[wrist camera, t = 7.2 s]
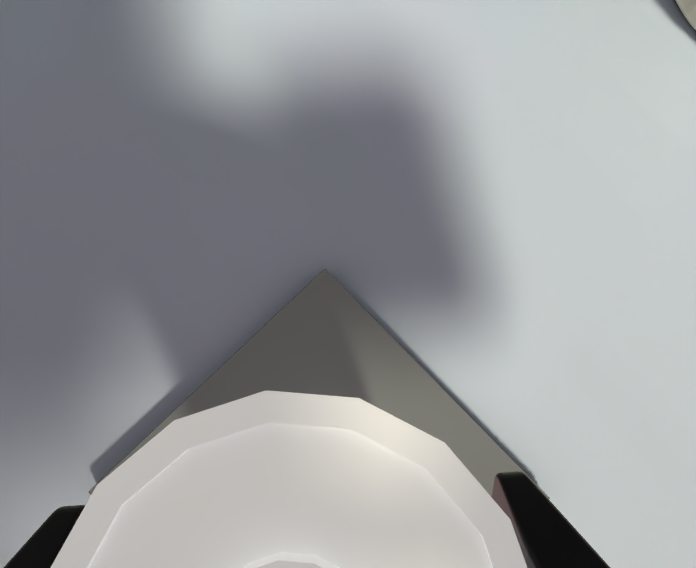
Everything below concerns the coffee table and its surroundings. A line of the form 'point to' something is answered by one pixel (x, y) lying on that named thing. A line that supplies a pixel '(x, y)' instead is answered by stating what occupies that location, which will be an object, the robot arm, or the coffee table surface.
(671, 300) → the coffee table surface
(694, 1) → the ramekin
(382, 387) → the coaster
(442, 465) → the beverage cup
